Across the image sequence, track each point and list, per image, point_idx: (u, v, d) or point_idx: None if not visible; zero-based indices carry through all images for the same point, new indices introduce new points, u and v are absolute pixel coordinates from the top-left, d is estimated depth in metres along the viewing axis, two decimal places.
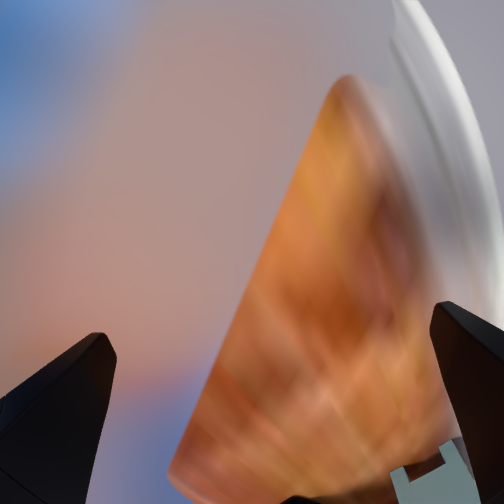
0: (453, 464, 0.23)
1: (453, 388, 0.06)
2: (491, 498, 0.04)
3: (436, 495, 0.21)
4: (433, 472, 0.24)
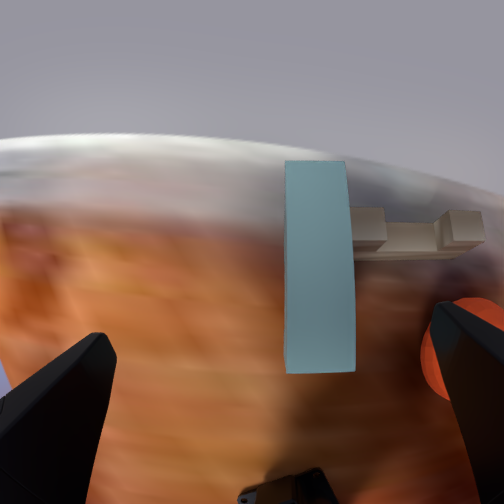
0: None
1: (453, 388, 0.06)
2: (491, 498, 0.04)
3: None
4: None
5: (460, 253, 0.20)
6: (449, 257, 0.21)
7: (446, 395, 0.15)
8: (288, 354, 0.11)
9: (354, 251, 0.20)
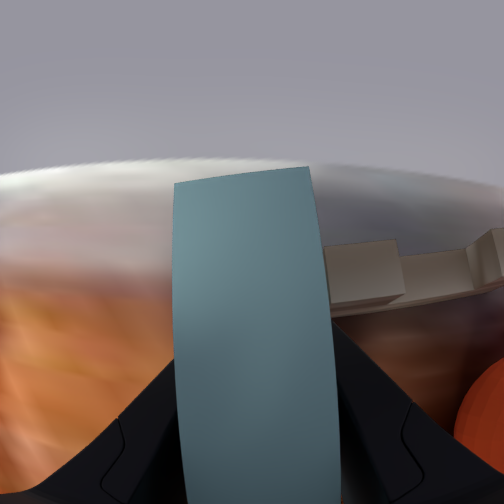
0: None
1: None
2: None
3: None
4: None
5: (502, 285, 0.13)
6: (486, 291, 0.14)
7: None
8: None
9: (353, 309, 0.13)
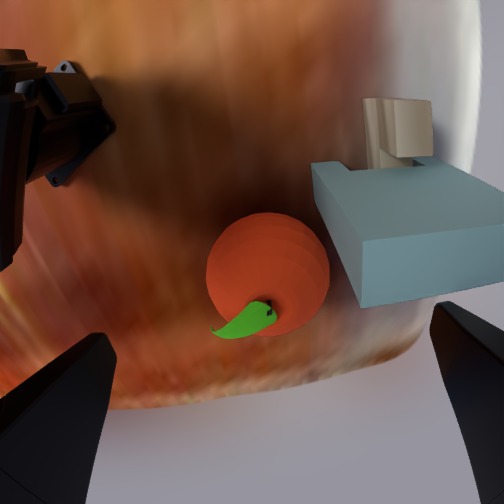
0: (441, 168, 0.15)
1: (453, 388, 0.06)
2: (491, 498, 0.04)
3: (416, 185, 0.13)
4: (401, 168, 0.15)
5: None
6: None
7: (213, 252, 0.17)
8: (383, 239, 0.09)
9: (378, 121, 0.15)
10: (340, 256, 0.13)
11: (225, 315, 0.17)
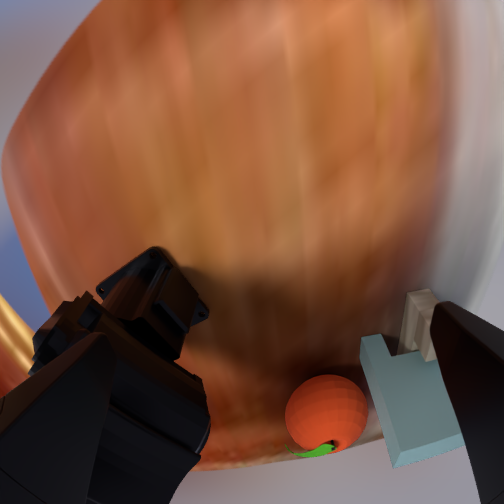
0: None
1: (453, 388, 0.06)
2: (491, 498, 0.04)
3: (433, 382, 0.18)
4: None
5: None
6: None
7: (295, 411, 0.22)
8: (410, 449, 0.15)
9: (416, 325, 0.21)
10: (382, 428, 0.19)
11: (301, 446, 0.22)
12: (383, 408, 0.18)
